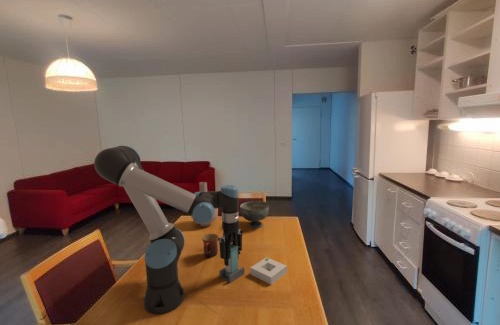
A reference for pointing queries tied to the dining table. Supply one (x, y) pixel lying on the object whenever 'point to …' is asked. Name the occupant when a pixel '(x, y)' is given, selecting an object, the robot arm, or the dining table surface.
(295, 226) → the dining table surface
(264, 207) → the bowl
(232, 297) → the dining table surface
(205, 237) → the mug
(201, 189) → the vase
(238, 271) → the grey u-shaped block
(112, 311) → the dining table surface
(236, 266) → the plug
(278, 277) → the port
